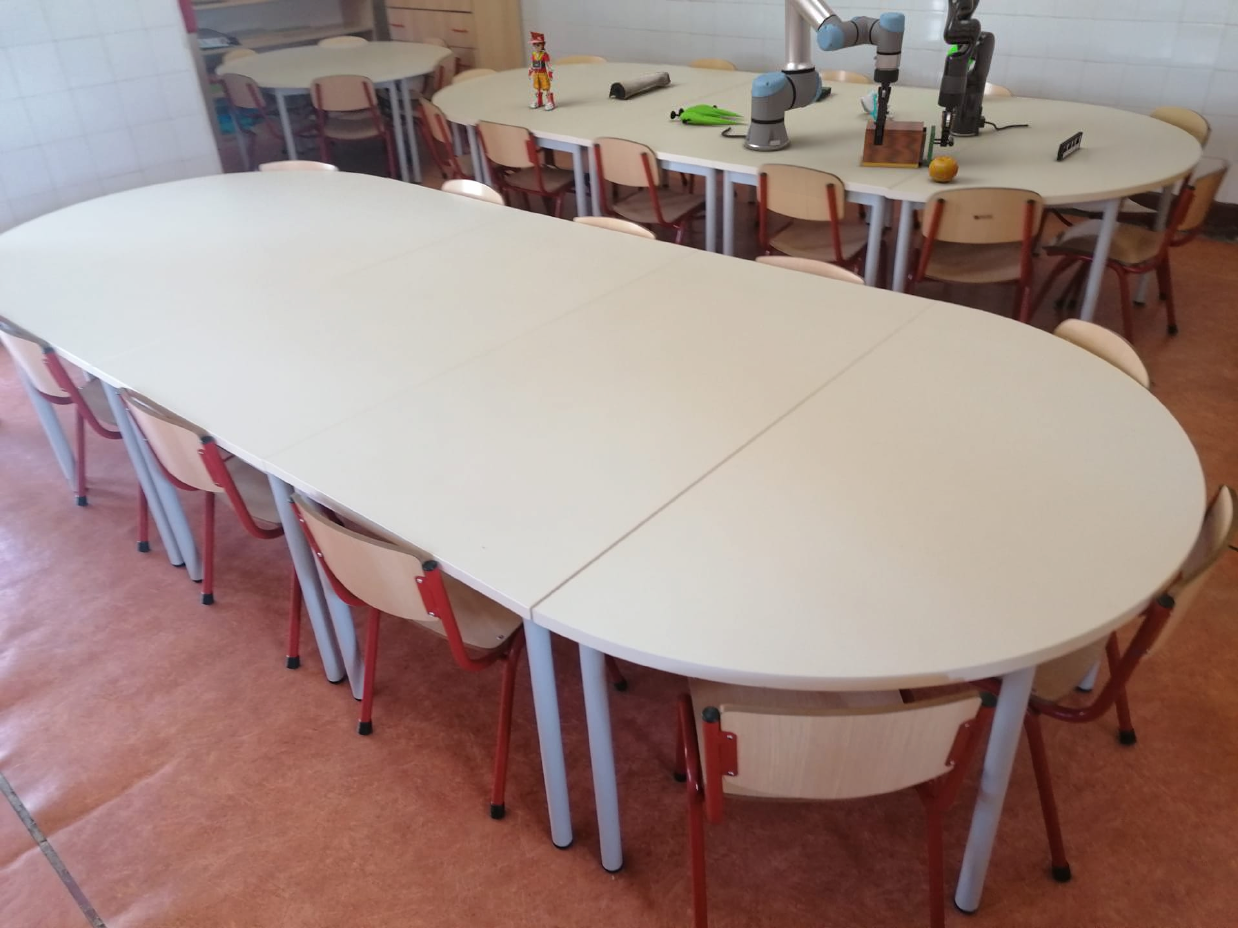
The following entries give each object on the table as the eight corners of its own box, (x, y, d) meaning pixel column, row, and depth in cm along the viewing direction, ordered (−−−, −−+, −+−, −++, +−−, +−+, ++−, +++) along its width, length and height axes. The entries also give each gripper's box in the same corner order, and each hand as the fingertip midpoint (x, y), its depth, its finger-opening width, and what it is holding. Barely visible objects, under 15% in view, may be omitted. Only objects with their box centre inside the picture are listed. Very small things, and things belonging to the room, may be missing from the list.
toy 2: (660, 123, 346) (729, 136, 334) (661, 109, 344) (731, 121, 331) (693, 112, 367) (760, 123, 354) (694, 98, 364) (762, 110, 351)
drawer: (950, 157, 294) (955, 126, 289) (950, 165, 287) (955, 134, 281) (879, 154, 300) (883, 124, 294) (878, 162, 293) (881, 132, 287)
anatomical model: (855, 90, 344) (881, 82, 343) (857, 117, 350) (883, 110, 349) (867, 99, 332) (894, 92, 331) (869, 127, 337) (896, 120, 337)
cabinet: (918, 158, 298) (923, 121, 291) (917, 167, 290) (923, 130, 283) (864, 156, 302) (867, 120, 296) (861, 165, 294) (865, 129, 288)
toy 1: (525, 109, 381) (517, 32, 364) (534, 104, 388) (527, 28, 371) (550, 110, 377) (543, 32, 360) (559, 105, 384) (553, 28, 367)
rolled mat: (651, 76, 408) (662, 61, 399) (662, 93, 408) (674, 79, 400) (605, 92, 391) (616, 77, 383) (617, 110, 391) (628, 95, 383)
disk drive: (818, 102, 366) (831, 94, 376) (818, 95, 364) (831, 87, 374) (794, 100, 370) (807, 92, 380) (794, 93, 369) (808, 85, 379)
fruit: (922, 172, 274) (939, 148, 271) (923, 174, 282) (940, 151, 279) (945, 187, 273) (963, 164, 270) (946, 189, 281) (963, 166, 278)
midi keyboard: (1060, 160, 287) (1063, 145, 284) (1056, 160, 288) (1059, 144, 285) (1079, 147, 298) (1083, 132, 295) (1075, 147, 298) (1079, 131, 296)
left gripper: (877, 60, 291) (869, 130, 303) (872, 76, 273) (864, 150, 285) (901, 60, 289) (892, 131, 301) (897, 76, 271) (889, 150, 283)
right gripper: (940, 84, 285) (931, 140, 295) (939, 94, 275) (930, 151, 285) (965, 85, 283) (955, 141, 293) (965, 95, 273) (955, 152, 283)
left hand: (879, 140), depth 293 cm, fingers closed on cabinet, 10 cm apart
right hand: (943, 146), depth 289 cm, fingers closed
